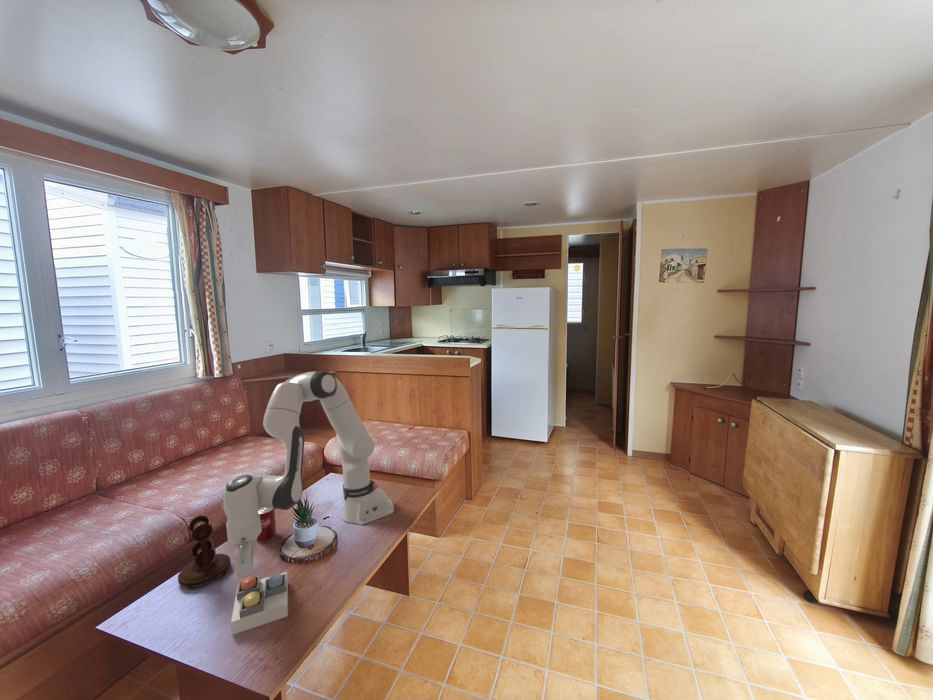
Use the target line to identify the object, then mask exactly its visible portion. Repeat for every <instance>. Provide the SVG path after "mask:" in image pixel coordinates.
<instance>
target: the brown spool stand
mask: <svg viewBox="0 0 933 700" xmlns="http://www.w3.org/2000/svg"><path fill="white" fill-rule="evenodd" d="M188 529H189V530H190V532H192V533H191V537H192V539H193V540H194V541H196V543H195V544H194V545H193V547H192V548H191V555H192V556H193V557H194V560H193V561H192V562H190V563H188V564H187V565H186V566H184V567H183V568H182V569H181V570H180V572H179V573H178V575H177V581H178V584H179V585H180V586H183V587H187V588H188V589H189V590H192V589H193V587H197V586H202V585H205V584H208V583H210V582H212V581H215V580H217V578H220V576H222V575H223V576H224V575H226V573H227V570H228V569H229V568H230V566H231V563H232V562H231V557H230V556H229V555H228V554H225V553H217V552H216V547H215V543H214V538H213V535H212V533H213V526H212V525H211V524H210V520H209V518H208V517H207V516H206V515H199V516H196V517H194V518H193V519H192V520H191V521H190V523H189V525H188ZM208 538H210V541H209V540H208Z"/></svg>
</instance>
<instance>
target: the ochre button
mask: <svg viewBox="0 0 933 700" xmlns="http://www.w3.org/2000/svg"><path fill="white" fill-rule="evenodd" d="M258 604H260V594H259V592H257V591H255V592H251V593H249V594H247V595H246V596H245V597H244V608H245V609H246V608H249V607H252V606H255V605H258Z"/></svg>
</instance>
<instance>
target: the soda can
mask: <svg viewBox="0 0 933 700" xmlns="http://www.w3.org/2000/svg"><path fill="white" fill-rule="evenodd" d="M258 512H259V514H260V520H261V533H260V534H259V536H257V539H256V542H258V543H266V542H269V541H271V540H273V539H274V538H275V537H276V536H277V534H278V533H277V522H276V521H277V520H276V519H277V518H276V508H268V507H261V508H260V509H259V510H258Z"/></svg>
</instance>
